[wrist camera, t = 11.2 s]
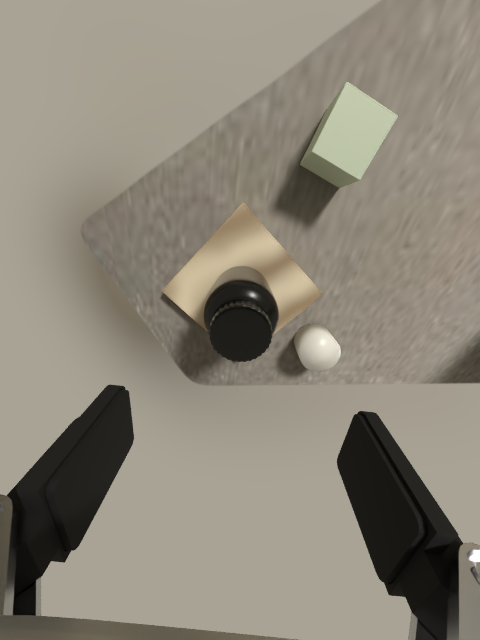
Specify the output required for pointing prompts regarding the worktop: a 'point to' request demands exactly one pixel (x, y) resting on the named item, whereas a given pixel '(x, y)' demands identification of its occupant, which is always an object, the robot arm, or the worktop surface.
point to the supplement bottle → (241, 314)
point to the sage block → (348, 137)
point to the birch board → (242, 250)
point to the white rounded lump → (316, 347)
